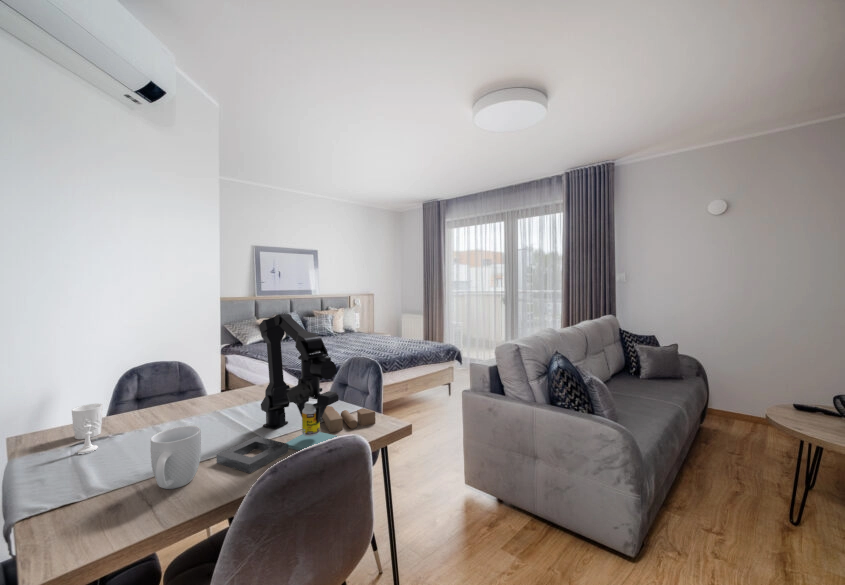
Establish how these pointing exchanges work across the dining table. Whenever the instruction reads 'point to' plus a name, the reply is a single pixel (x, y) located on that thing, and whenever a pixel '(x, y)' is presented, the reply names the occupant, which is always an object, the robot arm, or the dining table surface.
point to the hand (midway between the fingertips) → (311, 421)
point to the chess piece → (87, 439)
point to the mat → (308, 440)
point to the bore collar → (247, 464)
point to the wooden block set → (346, 418)
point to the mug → (175, 456)
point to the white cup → (82, 414)
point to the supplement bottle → (310, 420)
